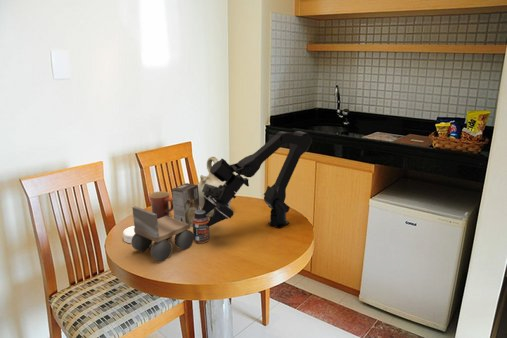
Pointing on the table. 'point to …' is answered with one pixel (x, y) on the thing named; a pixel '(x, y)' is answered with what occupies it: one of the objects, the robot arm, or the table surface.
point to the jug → (211, 181)
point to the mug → (161, 203)
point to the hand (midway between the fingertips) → (203, 221)
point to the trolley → (159, 233)
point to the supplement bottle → (200, 227)
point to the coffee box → (185, 202)
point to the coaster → (128, 234)
